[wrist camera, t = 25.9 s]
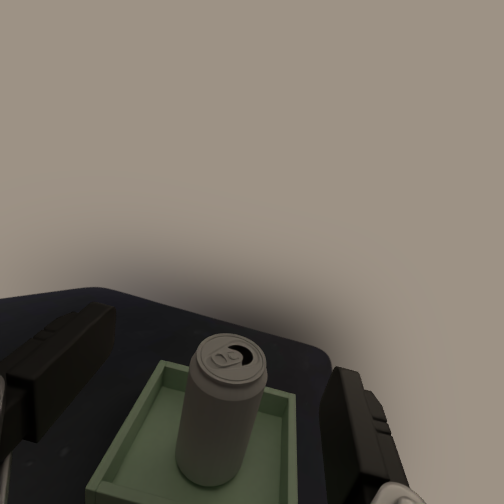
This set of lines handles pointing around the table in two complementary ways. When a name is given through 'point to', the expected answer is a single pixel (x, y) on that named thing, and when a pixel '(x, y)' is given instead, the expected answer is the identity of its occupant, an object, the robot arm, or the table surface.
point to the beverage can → (219, 408)
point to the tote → (164, 452)
